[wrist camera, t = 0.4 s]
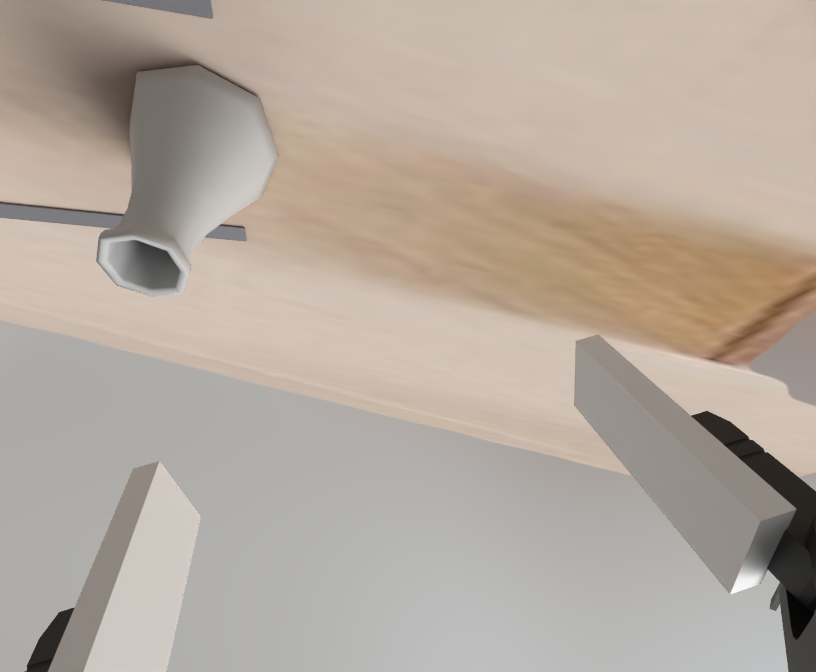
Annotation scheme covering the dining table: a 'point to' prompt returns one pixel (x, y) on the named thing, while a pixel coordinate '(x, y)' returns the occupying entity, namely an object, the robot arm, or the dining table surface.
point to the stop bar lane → (189, 3)
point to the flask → (184, 174)
